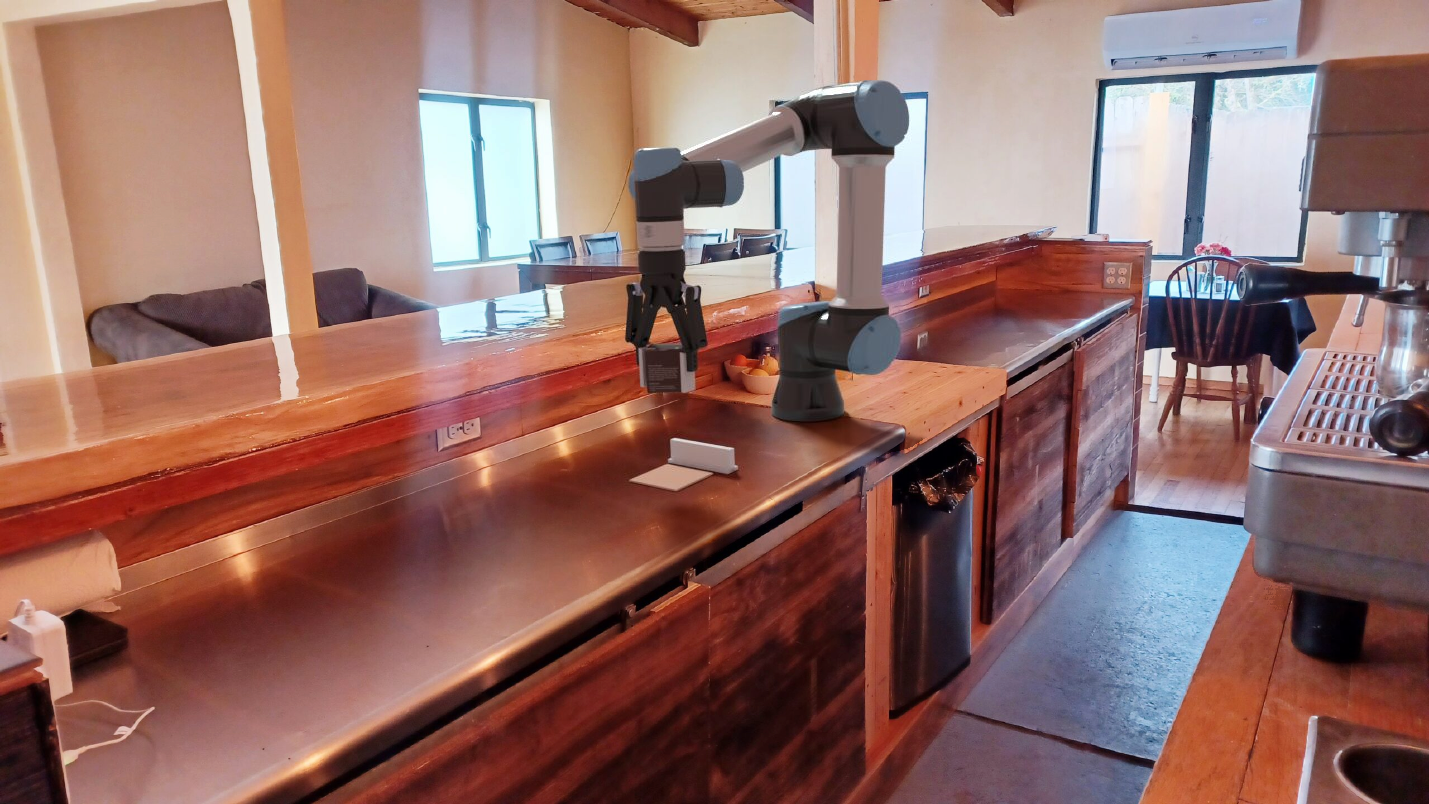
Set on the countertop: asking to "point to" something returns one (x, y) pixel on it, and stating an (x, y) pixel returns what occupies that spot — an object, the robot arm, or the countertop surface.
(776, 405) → the robot arm
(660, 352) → the box
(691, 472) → the pad
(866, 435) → the countertop surface
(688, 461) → the divider wall
